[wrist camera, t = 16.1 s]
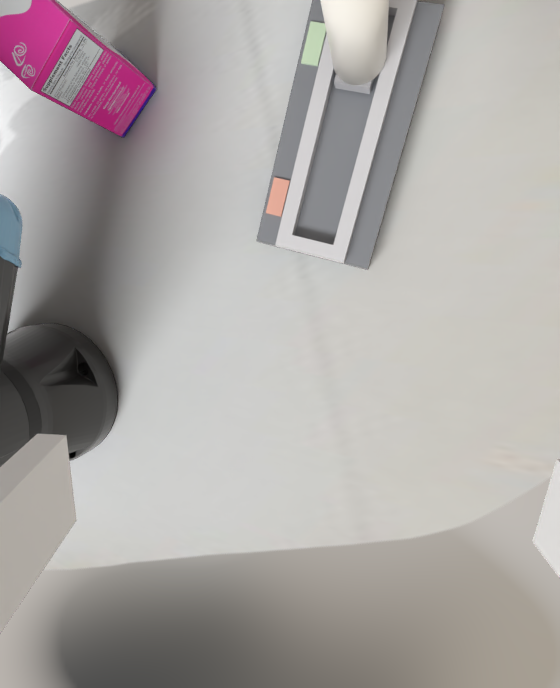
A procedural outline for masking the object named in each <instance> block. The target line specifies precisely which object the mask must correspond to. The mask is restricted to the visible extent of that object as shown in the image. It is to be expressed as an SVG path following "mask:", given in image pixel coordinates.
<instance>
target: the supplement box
mask: <svg viewBox="0 0 560 688" xmlns="http://www.w3.org/2000/svg"><path fill="white" fill-rule="evenodd" d="M0 61H1V62H2V63H3V64H4V65H5V66H6V67H7V68H8V69H10V70H11V71H12V72H13V73H14V74H15V75H16V76H17V77H18V78H19V79H20V80H21V81H22V82H23V83H24V84H25V85H26V86H27V87H28V88H29V89H30V90H32V91H34V92H36V93H38V94H40V95H42V96H44V97H46V98H48V99H49V100H51V101H53V102H55V103H57V104H59V105H61V106H63V107H65V108H67V109H69V110H71V111H73V112H75V113H77V114H78V115H80V116H82V117H84V118H86V119H88V120H90V121H92V122H94V123H96V124H98V125H99V126H101V127H103V128H105V129H107V130H109V131H111V132H113V133H115V134H117V135H119V136H121V137H124V136H125V135H126V133H127V132H128V130H129V129H130V127H131V126H132V124H133V123H134V121H135V120H136V118H137V117H138V116H139V114H140V113H141V111H142V110H143V108H144V107H145V105H146V104H147V102H148V101H149V99H150V98H151V97H152V95H153V94H154V92H155V91H156V89H157V88H156V87H155V86H154V84H153V83H152V82H151V81H150V80H149V79H148V78H147V77H146V76H145V75H144V74H143V73H141V72H140V71H139V70H138V69H137V68H136V67H135V66H134V65H133V64H132V63H131V62H130V61H129V60H128V59H127V58H125V57H124V56H123V55H122V54H121V53H120V52H119V51H118V50H116V49H115V48H114V47H112V46H111V45H110V44H109V43H107V42H106V41H105V40H104V39H103V38H101V37H100V36H99V35H98V34H97V33H95V32H94V31H93V30H92V29H91V28H89V27H88V26H87V25H86V24H85V23H83V22H82V21H81V20H80V19H79V18H77V17H76V16H75V15H74V14H73V13H71V12H70V11H69V10H68V9H67V8H65V7H64V6H63V5H62V4H61V3H59V2H58V1H57V0H0Z"/></svg>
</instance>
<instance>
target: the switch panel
mask: <svg viewBox="0 0 560 688" xmlns="http://www.w3.org/2000/svg"><path fill="white" fill-rule="evenodd" d="M443 8H444V5H443V4H436V3H428V2H421V1H418V0H389V11H388V32H387V52H386V60H385V63H384V66H383V68H382V70H381V71H380V73H379V74H378V75H377V76H376V77H375V78H374V81H373V85H372V88H371V92H370V94H365V93H360V92H354V91H348V90H343V89H337V88H335V84H334V80H335V76H336V73H335V71H334V67H333V62H332V57H331V52H330V47H329V42H328V37H327V32H326V27H325V22H324V17H323V12H322V7H321V1H320V0H312V4H311V9H310V13H309V17H308V22H307V26H306V30H305V34H304V39H303V43H302V47H301V52H300V56H299V60H298V64H297V69H296V73H295V77H294V82H293V86H292V90H291V95H290V99H289V103H288V107H287V112H286V116H285V120H284V125H283V129H282V133H281V137H280V142H279V146H278V150H277V155H276V159H275V163H274V168H273V172H272V176H271V180H270V185H269V189H268V193H267V198H266V202H265V206H264V211H263V215H262V219H261V223H260V228H259V232H258V236H257V242H261V243H264V244H268V245H272V246H276V247H280V248H284V249H288V250H292V251H295V252H299V253H303V254H307V255H311V256H315V257H319V258H323V259H327V260H331V261H335V262H339V263H343V264H347V265H351V266H355V267H358V268H362V269H366V270H368V267H369V264H370V260H371V257H372V254H373V250H374V247H375V243H376V240H377V236H378V233H379V230H380V226H381V223H382V219H383V216H384V212H385V209H386V205H387V202H388V199H389V195H390V192H391V188H392V185H393V181H394V178H395V175H396V171H397V168H398V164H399V161H400V157H401V154H402V151H403V147H404V144H405V140H406V137H407V133H408V130H409V127H410V123H411V120H412V116H413V113H414V109H415V106H416V103H417V99H418V96H419V92H420V89H421V85H422V82H423V79H424V75H425V72H426V68H427V65H428V61H429V58H430V55H431V51H432V48H433V44H434V41H435V37H436V34H437V31H438V27H439V24H440V20H441V16H442V12H443Z"/></svg>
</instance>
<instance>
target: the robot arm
mask: <svg viewBox="0 0 560 688" xmlns="http://www.w3.org/2000/svg"><path fill="white" fill-rule="evenodd" d="M21 234H22V217H21V214H20V212H19V210H18V208H17V207H16V206H15V204H14V203H13V202H12V201H11V200H10V199H8V198H7V197H5V196H4V195H2V194H0V634H1V632H2V631H3V629H4V628H5V626H6V624H7V623H8V622H9V620H10V619H11V617H12V616H13V614H14V613H15V611H16V610H17V608H18V607H19V605H20V604H21V602H22V600H23V599H24V598H25V596H26V595H27V593H28V592H29V590H30V589H31V587H32V586H33V584H34V583H35V581H36V580H37V578H38V577H39V575H40V574H41V573H42V571H43V570H44V568H45V567H46V565H47V564H48V562H49V561H50V559H51V558H52V556H53V555H54V553H55V552H56V550H57V549H58V547H59V546H60V544H61V543H62V541H63V540H64V538H65V537H66V535H67V534H68V532H69V531H70V529H71V528H72V526H73V525H74V523H75V522H76V513H75V504H74V496H73V487H72V479H71V470H70V462H69V461H71V460H74V459H76V458H78V457H80V456H82V455H83V454H85V453H87V452H88V451H90V450H92V449H93V448H95V447H96V446H97V445H99V444H100V443H101V442H102V441H103V440H104V438H105V437H106V436H107V434H108V433H109V431H110V429H111V427H112V425H113V422H114V419H115V415H116V410H117V390H116V384H115V380H114V376H113V373H112V371H111V368H110V366H109V364H108V362H107V360H106V359H105V357H104V356H103V354H102V353H101V351H100V350H99V349H98V348H97V346H96V345H95V344H94V343H93V342H92V341H91V340H89V339H88V338H87V337H86V336H84V335H83V334H82V333H80V332H78V331H76V330H75V329H72V328H70V327H67V326H64V325H60V324H53V323H46V324H37V325H30V326H25V327H21V328H18V329H15V330H13V331H11V332H9V333H8V334H7V332H8V325H9V319H10V313H11V307H12V301H13V295H14V289H15V282H16V276H17V270H18V268H21V265H22V262H21V260H20V259H19V252H20V243H21ZM533 543H534V545H535V546H536V547H537V549H538V550H539V551H540V553H541V554H542V555H543V557H544V558H545V559H546V561H547V562H548V563H549V564H550V566H551V567H552V568H553V570H554V571H555V572H556V574H557V575H558V576H559V578H560V459H556V463H555V466H554V470H553V473H552V477H551V480H550V483H549V487H548V491H547V494H546V497H545V501H544V504H543V507H542V511H541V514H540V518H539V521H538V525H537V529H536V532H535V535H534V538H533Z"/></svg>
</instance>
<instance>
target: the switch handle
mask: <svg viewBox="0 0 560 688" xmlns="http://www.w3.org/2000/svg"><path fill="white" fill-rule="evenodd" d="M320 1H321V7H322V12H323V17H324V22H325V27H326V32H327V37H328V42H329V47H330V52H331V57H332V62H333V67H334V71H335V73H336V76H335V80H334V84H335V88H337V89H343V90H348V91H354V92H360V93H365V94H370V92H371V88H372V85H373V81H374V78H375V77H376V76H377V75H378V74H379V73H380V71H381V70H382V68H383V66H384V63H385V60H386V52H387V32H388V11H389V0H320Z"/></svg>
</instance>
